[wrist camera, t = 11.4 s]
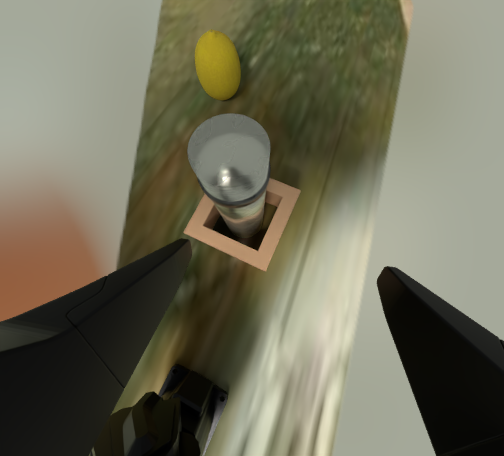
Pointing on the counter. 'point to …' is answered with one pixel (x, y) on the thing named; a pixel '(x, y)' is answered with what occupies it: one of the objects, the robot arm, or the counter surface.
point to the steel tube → (233, 169)
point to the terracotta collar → (260, 259)
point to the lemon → (217, 65)
